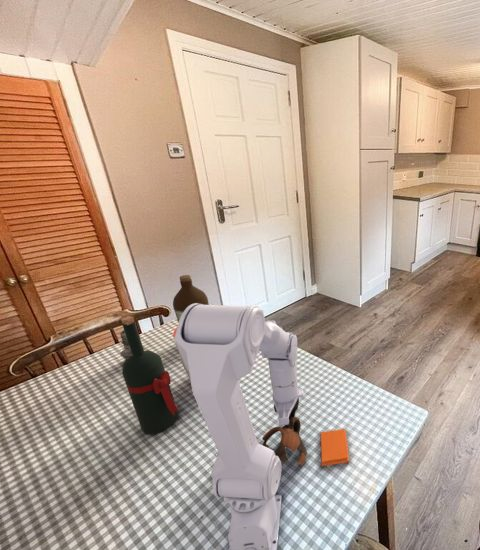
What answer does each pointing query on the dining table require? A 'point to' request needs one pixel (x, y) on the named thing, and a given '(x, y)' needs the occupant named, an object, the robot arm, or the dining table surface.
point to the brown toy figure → (288, 440)
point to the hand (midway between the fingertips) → (289, 422)
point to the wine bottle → (148, 384)
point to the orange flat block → (334, 447)
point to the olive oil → (187, 296)
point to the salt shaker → (125, 346)
